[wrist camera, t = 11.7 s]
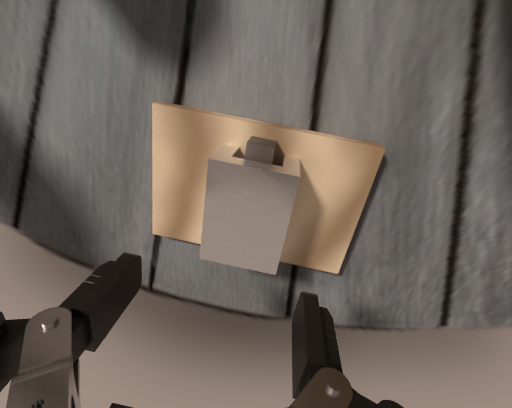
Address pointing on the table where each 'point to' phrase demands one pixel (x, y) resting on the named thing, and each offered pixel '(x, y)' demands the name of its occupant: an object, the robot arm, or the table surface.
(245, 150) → the stand
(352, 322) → the table surface
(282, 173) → the notched grey block
